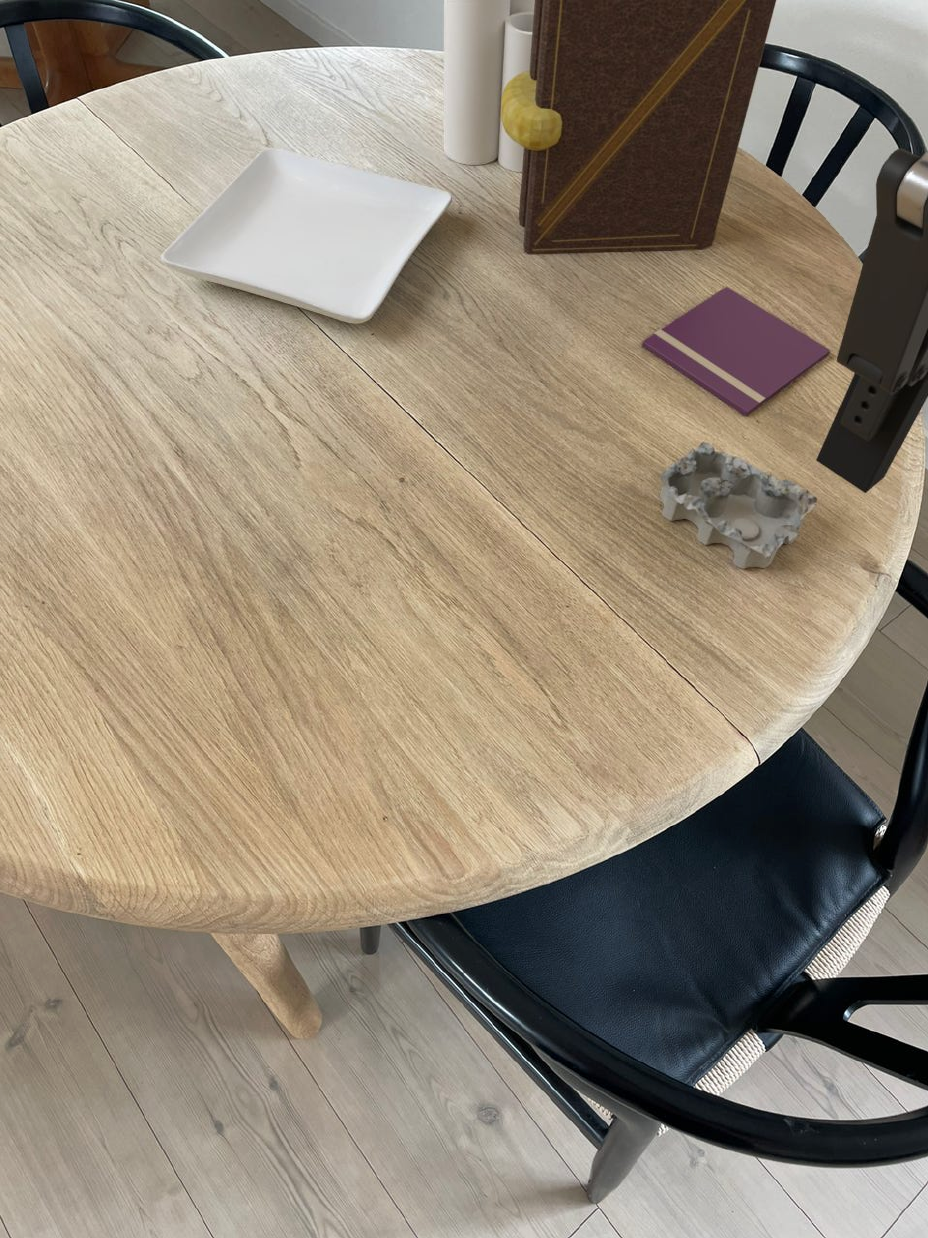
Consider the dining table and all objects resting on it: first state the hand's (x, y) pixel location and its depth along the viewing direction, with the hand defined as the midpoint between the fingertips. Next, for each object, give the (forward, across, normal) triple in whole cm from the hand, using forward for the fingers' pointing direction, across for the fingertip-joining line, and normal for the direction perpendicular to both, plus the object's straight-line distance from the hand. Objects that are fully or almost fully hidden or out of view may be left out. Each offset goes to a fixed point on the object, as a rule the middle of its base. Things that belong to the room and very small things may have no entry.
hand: (850, 468), depth 44 cm
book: (+26, -36, -44) cm, 62 cm away
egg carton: (+26, -15, -12) cm, 33 cm away
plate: (+26, -12, -60) cm, 66 cm away
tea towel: (+26, -32, -24) cm, 48 cm away
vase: (+26, -38, -62) cm, 77 cm away
